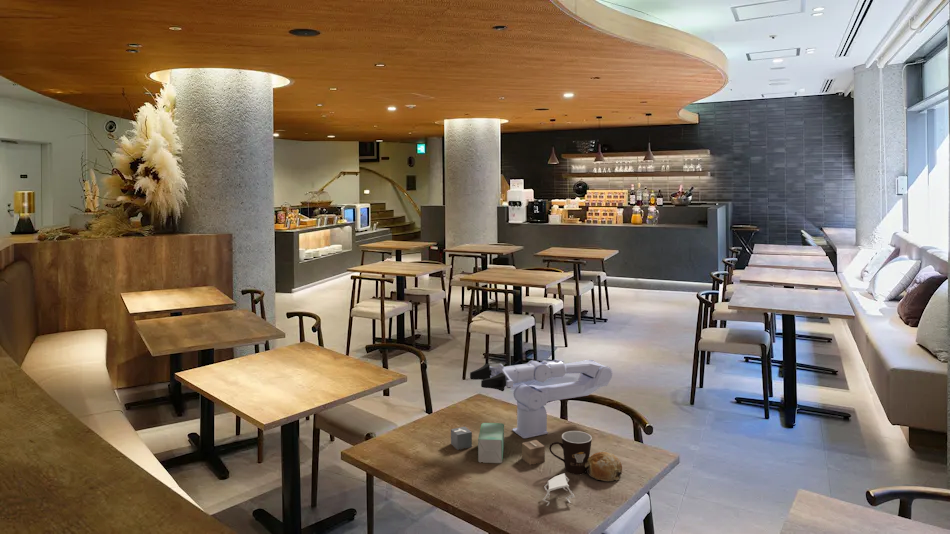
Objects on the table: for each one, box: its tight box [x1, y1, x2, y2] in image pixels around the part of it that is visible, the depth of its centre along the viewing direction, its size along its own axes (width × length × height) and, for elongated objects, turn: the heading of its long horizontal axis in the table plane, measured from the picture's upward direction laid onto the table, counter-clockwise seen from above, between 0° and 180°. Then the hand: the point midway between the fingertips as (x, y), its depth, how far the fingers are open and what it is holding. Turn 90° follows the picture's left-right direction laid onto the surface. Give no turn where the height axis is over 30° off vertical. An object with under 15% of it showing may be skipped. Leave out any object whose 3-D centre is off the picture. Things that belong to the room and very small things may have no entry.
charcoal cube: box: [450, 426, 473, 451], centre depth 199 cm, size 5×5×5 cm
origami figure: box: [542, 473, 575, 507], centre depth 167 cm, size 12×8×5 cm
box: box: [477, 422, 505, 464], centre depth 193 cm, size 7×14×8 cm, turn 175°
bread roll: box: [585, 451, 623, 482], centre depth 179 cm, size 10×10×8 cm
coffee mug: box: [548, 430, 593, 476], centre depth 182 cm, size 12×9×10 cm
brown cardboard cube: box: [521, 439, 546, 466], centre depth 188 cm, size 5×5×5 cm
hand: (476, 379), depth 197 cm, fingers open, 7 cm apart
